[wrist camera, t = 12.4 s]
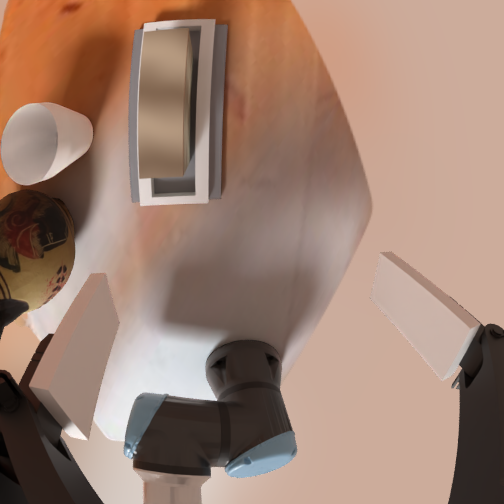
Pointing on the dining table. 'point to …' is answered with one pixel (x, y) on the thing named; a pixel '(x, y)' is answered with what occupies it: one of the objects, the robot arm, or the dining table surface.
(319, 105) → the dining table surface
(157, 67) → the beige textured block
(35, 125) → the cup
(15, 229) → the ceramic jug
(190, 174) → the track base
